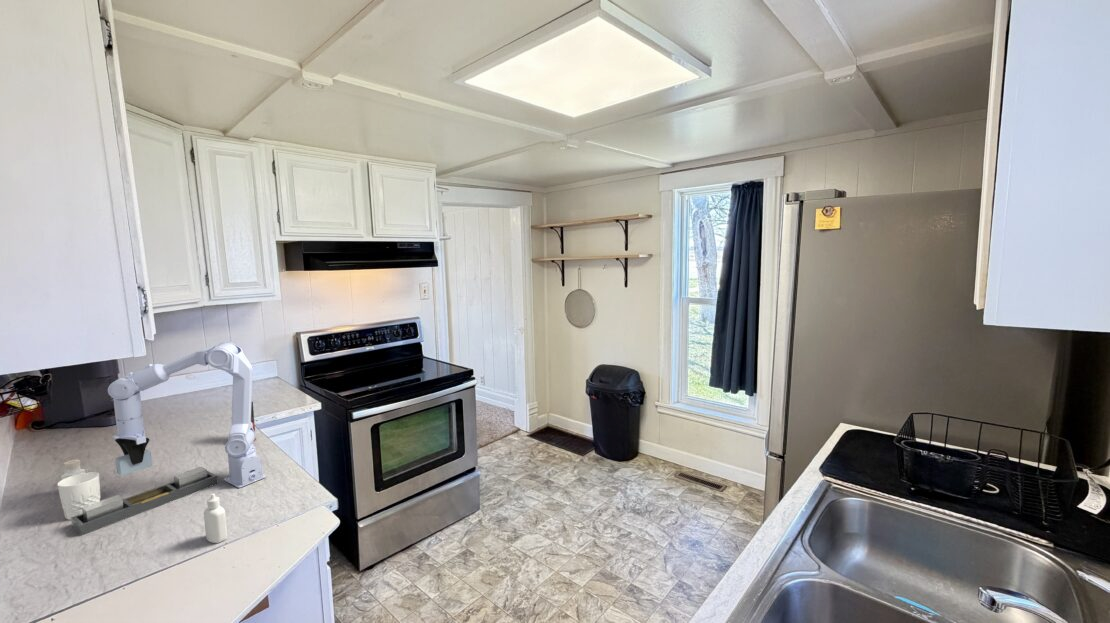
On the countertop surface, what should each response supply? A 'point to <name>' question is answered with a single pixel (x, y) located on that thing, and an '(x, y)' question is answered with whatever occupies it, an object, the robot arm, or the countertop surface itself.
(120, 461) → the light blue rectangular block
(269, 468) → the countertop surface
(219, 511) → the eye dropper bottle
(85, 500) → the white cup
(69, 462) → the salt shaker
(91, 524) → the tray
